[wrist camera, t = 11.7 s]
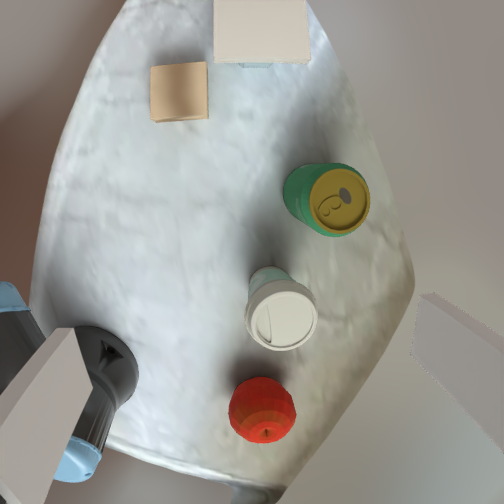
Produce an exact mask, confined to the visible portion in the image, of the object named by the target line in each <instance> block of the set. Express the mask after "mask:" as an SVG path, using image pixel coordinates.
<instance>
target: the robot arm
mask: <svg viewBox="0 0 504 504" xmlns="http://www.w3.org/2000/svg"><path fill="white" fill-rule="evenodd" d="M30 311H31V310H30V308H29V307H27V306H26V304H25V303H24V301H23V299H22V298H21V296H20V294H19V293H18V291H17V289H16V287H15V286H14V285H12V284H11V283H9V282H5V281H4V282H3V281H2V282H0V504H5V503H6V502H7V503H8V504H44V501H45V499H46V496H47V493H48V491H49V488H50V485H51V483H52V480H53V479H56V480H60V481H65V482H81V481H84V480H87V479H88V478H90V477H91V476H92V475H93V473H94V471H95V468H96V466H97V464H98V462H99V461H100V459H101V455H102V452H103V448H104V445H105V442H106V439H107V436H108V433H109V430H110V427H111V423H112V420H113V417H114V414H115V412H116V410H117V409H118V408H119V407H120V406H121V405H122V404H123V403H125V402H126V401H127V400H129V399H130V397H131V396H132V395H133V393H134V391H135V388H136V385H137V382H138V378H139V371H138V366H137V363H136V360H135V358H134V356H133V354H132V353H131V351H130V350H129V349H128V347H127V346H126V345H125V344H124V343H123V342H122V341H121V340H120V339H118V338H117V337H116V336H114V335H113V334H111V333H109V332H107V331H105V330H103V329H100V328H97V327H92V326H79V327H75V328H56V329H55V330H54V331H53V333H52V334H51V335H50V336H49V337H48V338H47V339H46V338H45V336H44V335H43V333H42V331H41V330H40V328H39V326H38V325H37V323H36V321H35V319H34V318H33V316H32V314H31V312H30ZM410 355H411V356H412V357H413V358H414V359H415V360H416V361H417V362H418V363H419V364H420V365H421V366H422V367H423V368H424V369H425V370H426V371H427V372H428V373H429V374H430V375H431V376H432V377H433V379H434V380H435V381H436V382H437V383H438V384H439V385H440V386H441V387H442V388H443V389H444V390H445V391H446V392H447V393H448V394H449V395H450V396H451V397H452V398H453V399H454V400H455V401H456V402H457V404H459V406H460V407H461V408H462V409H463V410H464V411H465V412H466V413H467V414H468V415H469V416H470V417H471V418H472V419H473V421H474V422H476V424H477V425H478V426H479V427H480V428H481V429H482V430H483V431H484V432H485V434H487V436H488V437H489V438H490V439H491V440H492V441H493V442H494V443H495V444H496V446H497V447H498V448H499V449H500V450H501V451H502V452H503V454H504V338H503V337H502V336H500V335H499V334H497V333H496V332H495V331H493V330H492V329H490V328H489V327H487V326H486V325H484V324H483V323H481V322H479V321H478V320H476V319H475V318H473V317H472V316H470V315H469V314H467V313H466V312H464V311H463V310H461V309H459V308H458V307H456V306H455V305H453V304H452V303H450V302H448V301H447V300H445V299H444V298H442V297H440V296H439V295H437V294H435V293H428V294H423V295H419V303H418V310H417V317H416V323H415V329H414V336H413V341H412V347H411V352H410Z"/></svg>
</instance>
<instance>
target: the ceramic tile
mask: <svg viewBox="0 0 504 504" xmlns="http://www.w3.org/2000/svg"><path fill="white" fill-rule="evenodd" d="M310 60H311V55H310V43H309V31H308V21H307V11H306V1H305V0H214V63H247V62H255V63H291V64H307V63H308V62H309V61H310Z"/></svg>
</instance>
